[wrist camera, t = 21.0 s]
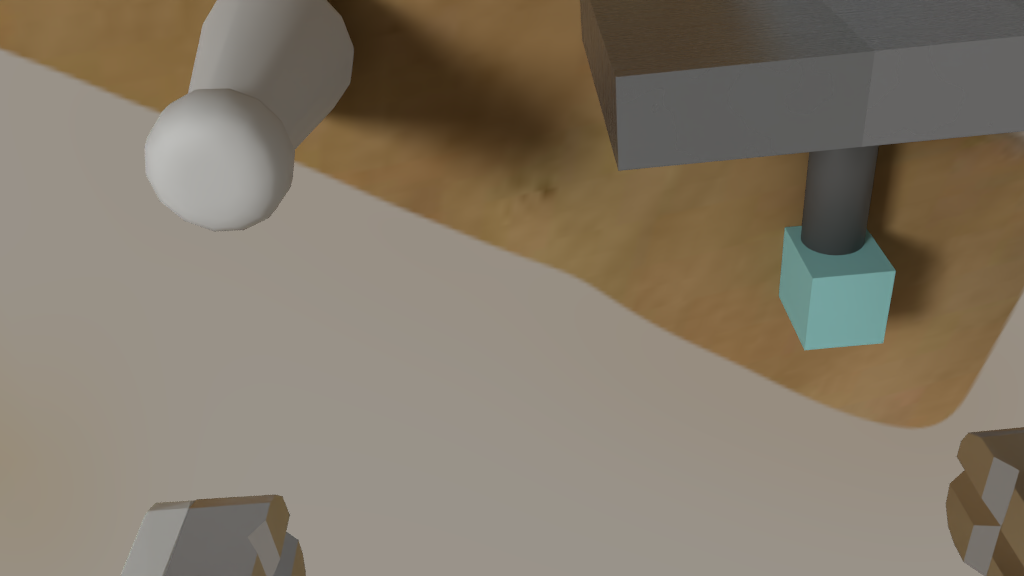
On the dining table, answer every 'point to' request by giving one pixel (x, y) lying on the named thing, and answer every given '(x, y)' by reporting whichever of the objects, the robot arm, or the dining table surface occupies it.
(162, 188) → the salt shaker
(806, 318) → the plug
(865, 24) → the block
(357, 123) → the dining table surface
